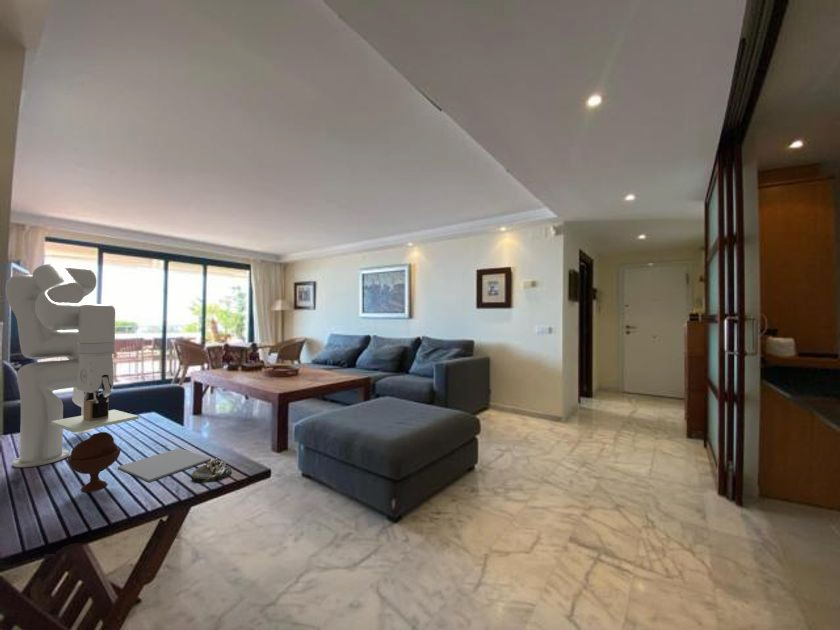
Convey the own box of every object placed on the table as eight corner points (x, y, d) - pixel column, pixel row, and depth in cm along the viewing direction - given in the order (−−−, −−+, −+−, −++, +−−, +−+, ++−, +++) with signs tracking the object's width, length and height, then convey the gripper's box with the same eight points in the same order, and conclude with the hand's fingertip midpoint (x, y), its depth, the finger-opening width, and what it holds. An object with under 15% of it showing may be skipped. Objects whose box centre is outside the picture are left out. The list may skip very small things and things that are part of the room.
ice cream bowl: (114, 475, 108) (114, 424, 108) (123, 486, 101) (124, 432, 101) (64, 487, 99) (65, 433, 99) (71, 501, 92) (71, 442, 92)
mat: (117, 468, 112) (117, 466, 112) (179, 449, 128) (179, 448, 128) (148, 482, 104) (149, 479, 104) (210, 460, 120) (210, 458, 120)
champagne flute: (66, 433, 143) (67, 372, 143) (82, 428, 149) (83, 369, 149) (83, 433, 143) (84, 372, 143) (98, 428, 149) (99, 369, 149)
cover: (50, 424, 97) (51, 402, 97) (114, 412, 109) (114, 392, 109) (73, 432, 90) (73, 409, 90) (138, 418, 103) (138, 398, 103)
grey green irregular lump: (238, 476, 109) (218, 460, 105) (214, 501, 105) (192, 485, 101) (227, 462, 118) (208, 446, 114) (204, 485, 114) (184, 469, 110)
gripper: (65, 348, 101) (64, 415, 101) (93, 352, 93) (92, 424, 93) (99, 346, 107) (98, 409, 107) (128, 349, 99) (127, 417, 99)
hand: (96, 415), depth 100 cm, fingers closed on cover, 4 cm apart
